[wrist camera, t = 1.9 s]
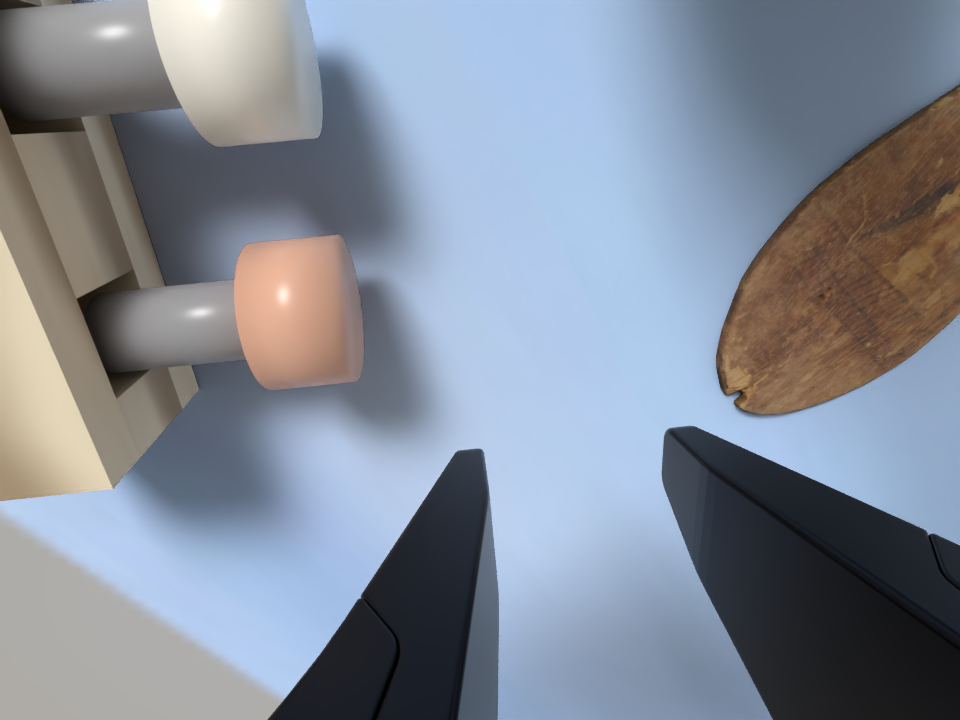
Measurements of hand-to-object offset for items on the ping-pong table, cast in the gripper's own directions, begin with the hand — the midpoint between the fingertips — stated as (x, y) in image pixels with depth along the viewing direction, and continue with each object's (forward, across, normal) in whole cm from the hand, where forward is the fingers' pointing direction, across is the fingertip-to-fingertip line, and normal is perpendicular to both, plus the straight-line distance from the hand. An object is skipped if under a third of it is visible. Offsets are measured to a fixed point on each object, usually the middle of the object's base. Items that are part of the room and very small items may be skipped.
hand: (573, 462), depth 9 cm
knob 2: (+11, +8, 0) cm, 14 cm away
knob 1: (+11, +8, -7) cm, 16 cm away
